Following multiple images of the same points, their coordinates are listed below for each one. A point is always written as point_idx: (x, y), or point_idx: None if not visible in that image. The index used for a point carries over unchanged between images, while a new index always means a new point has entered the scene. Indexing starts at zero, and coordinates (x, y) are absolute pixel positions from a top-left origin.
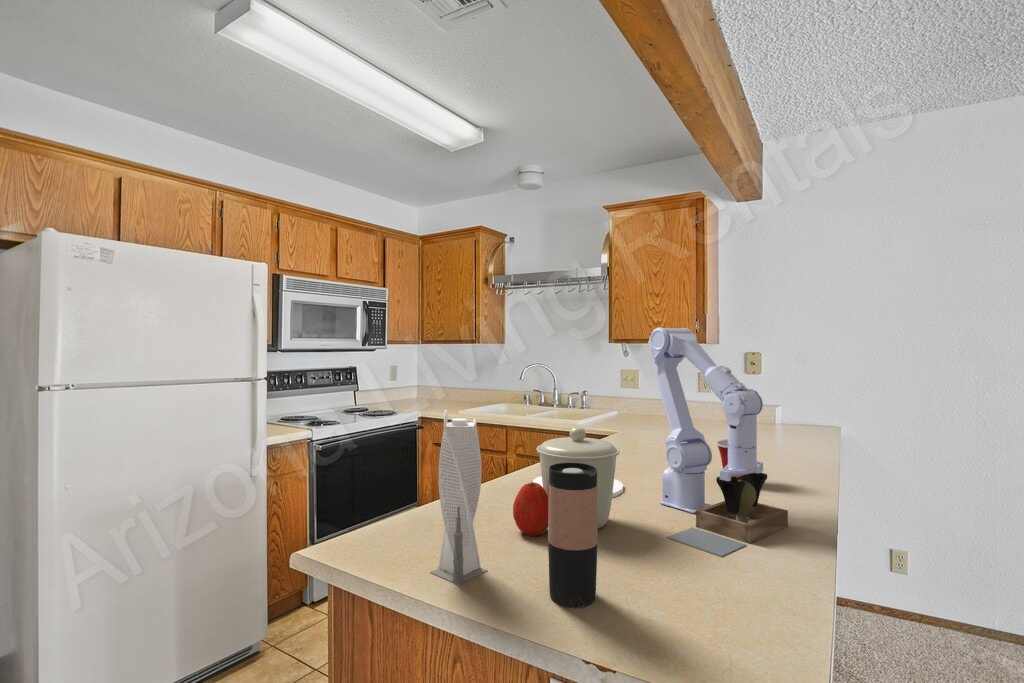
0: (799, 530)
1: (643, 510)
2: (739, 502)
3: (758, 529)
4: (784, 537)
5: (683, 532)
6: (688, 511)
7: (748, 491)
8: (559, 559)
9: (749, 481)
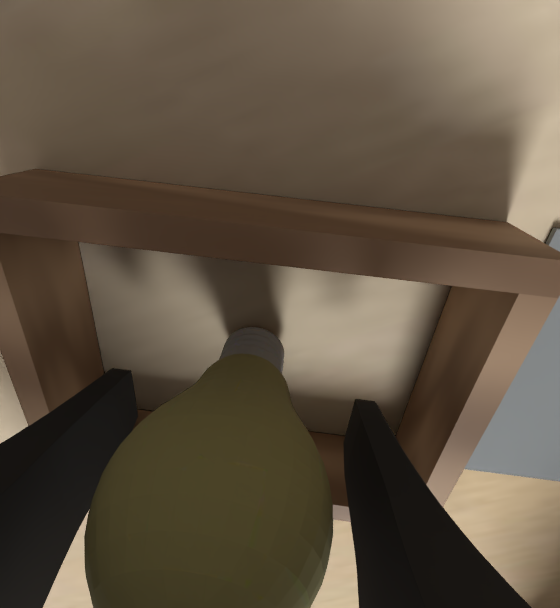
0: (26, 82)
1: (352, 588)
2: (384, 460)
3: (427, 230)
4: (241, 107)
5: (529, 467)
6: None
7: (273, 516)
8: None
9: (8, 592)
